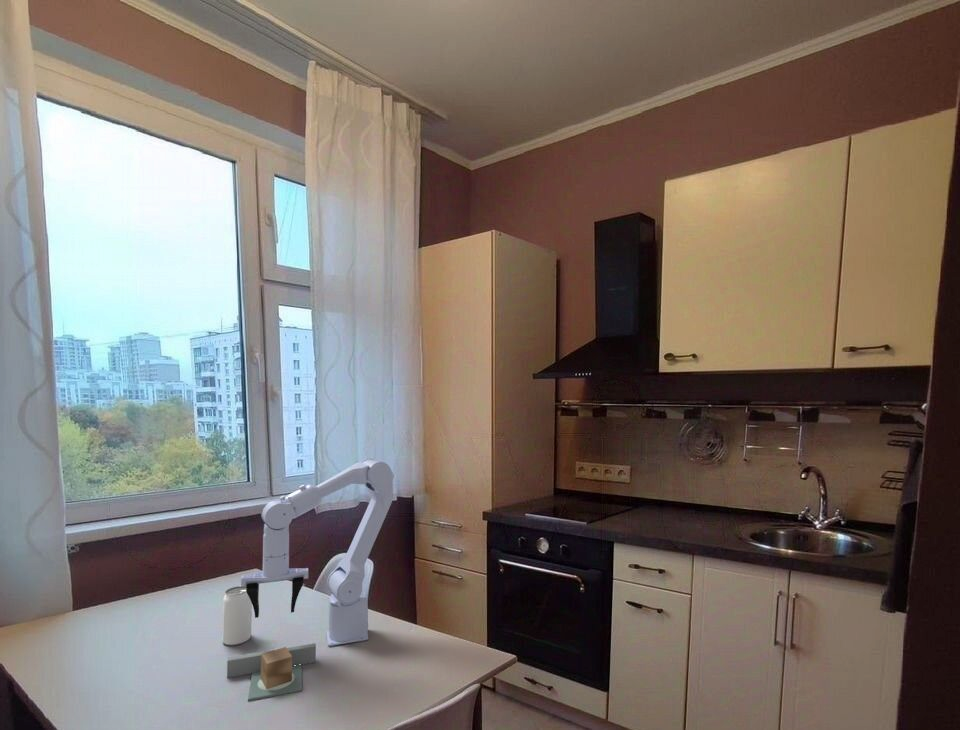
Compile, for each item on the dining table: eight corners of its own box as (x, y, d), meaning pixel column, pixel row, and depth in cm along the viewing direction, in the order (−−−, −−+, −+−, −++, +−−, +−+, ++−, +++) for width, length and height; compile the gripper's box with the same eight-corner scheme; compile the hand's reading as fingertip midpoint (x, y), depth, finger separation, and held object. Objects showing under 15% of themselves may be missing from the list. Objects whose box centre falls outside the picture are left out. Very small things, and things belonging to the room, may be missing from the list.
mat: (301, 666, 112) (301, 664, 112) (301, 690, 103) (301, 688, 103) (252, 675, 109) (252, 672, 109) (247, 701, 99) (247, 698, 99)
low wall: (315, 659, 115) (315, 643, 115) (315, 662, 114) (315, 646, 114) (227, 674, 109) (228, 657, 109) (227, 677, 108) (227, 660, 108)
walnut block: (285, 670, 109) (285, 647, 110) (291, 681, 105) (292, 656, 106) (260, 678, 106) (261, 654, 107) (266, 689, 102) (266, 663, 103)
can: (239, 647, 121) (240, 595, 122) (216, 644, 122) (217, 594, 123) (256, 634, 127) (257, 586, 128) (234, 632, 129) (235, 584, 129)
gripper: (308, 545, 125) (307, 602, 124) (243, 552, 120) (242, 611, 119) (308, 553, 118) (308, 613, 117) (240, 561, 113) (239, 623, 112)
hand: (274, 613), depth 118 cm, fingers open, 7 cm apart
